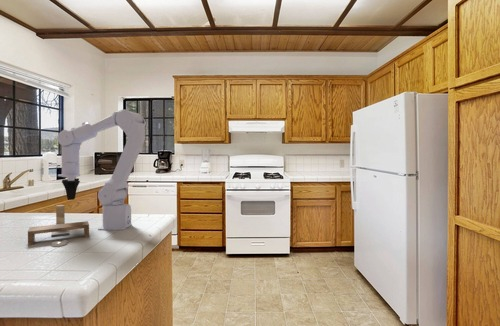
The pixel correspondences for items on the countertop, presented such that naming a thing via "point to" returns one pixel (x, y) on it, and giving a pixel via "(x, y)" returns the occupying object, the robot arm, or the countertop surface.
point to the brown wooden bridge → (57, 229)
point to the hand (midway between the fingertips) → (71, 198)
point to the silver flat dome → (59, 243)
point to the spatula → (60, 221)
